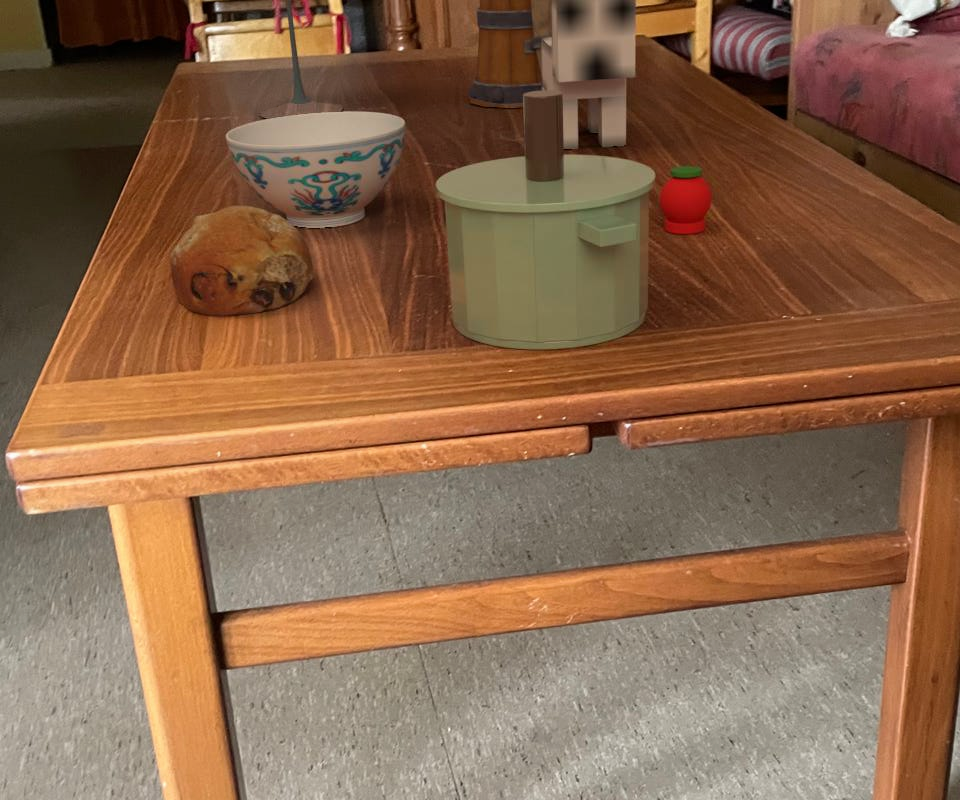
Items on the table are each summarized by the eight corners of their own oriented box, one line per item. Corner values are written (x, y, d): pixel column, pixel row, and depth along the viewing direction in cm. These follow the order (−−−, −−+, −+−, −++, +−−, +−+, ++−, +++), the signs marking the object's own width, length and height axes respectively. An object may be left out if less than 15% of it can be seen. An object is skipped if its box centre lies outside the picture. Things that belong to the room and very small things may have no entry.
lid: (587, 162, 85) (586, 69, 82) (698, 200, 74) (701, 94, 71) (404, 190, 80) (396, 92, 77) (493, 235, 69) (488, 123, 66)
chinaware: (430, 197, 112) (424, 109, 108) (385, 242, 99) (376, 144, 95) (274, 198, 115) (263, 112, 111) (211, 242, 102) (196, 147, 98)
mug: (608, 107, 148) (608, -75, 139) (493, 119, 146) (484, -67, 137) (560, 85, 165) (557, -79, 156) (456, 95, 162) (446, -71, 153)
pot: (568, 267, 90) (565, 149, 86) (708, 337, 75) (713, 198, 71) (408, 297, 85) (398, 174, 82) (524, 378, 71) (518, 232, 67)
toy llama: (606, 124, 139) (605, -71, 130) (634, 155, 123) (636, -64, 114) (540, 128, 139) (535, -67, 129) (560, 160, 123) (555, -59, 114)
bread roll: (316, 321, 93) (301, 215, 93) (322, 301, 83) (305, 182, 83) (183, 337, 91) (167, 229, 91) (172, 318, 81) (155, 197, 81)
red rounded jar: (692, 220, 100) (693, 161, 98) (720, 230, 97) (722, 170, 95) (649, 227, 99) (650, 168, 96) (677, 238, 95) (678, 177, 93)
